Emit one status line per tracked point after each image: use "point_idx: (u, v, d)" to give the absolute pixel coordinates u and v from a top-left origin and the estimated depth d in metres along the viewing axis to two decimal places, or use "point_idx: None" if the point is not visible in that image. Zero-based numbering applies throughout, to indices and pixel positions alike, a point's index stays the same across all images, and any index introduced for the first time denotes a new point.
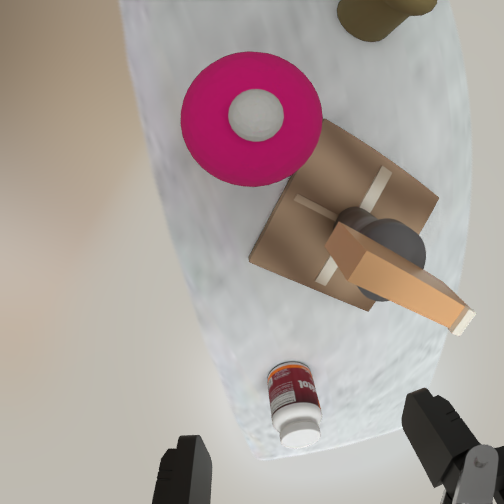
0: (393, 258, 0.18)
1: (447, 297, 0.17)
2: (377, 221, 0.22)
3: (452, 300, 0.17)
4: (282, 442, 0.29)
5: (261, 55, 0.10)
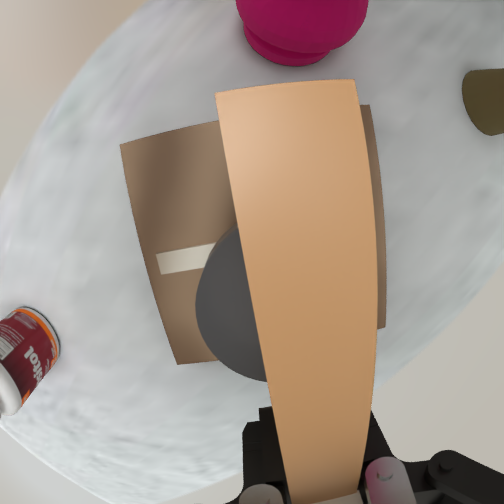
0: None
1: (360, 455, 0.06)
2: None
3: (358, 467, 0.06)
4: None
5: None
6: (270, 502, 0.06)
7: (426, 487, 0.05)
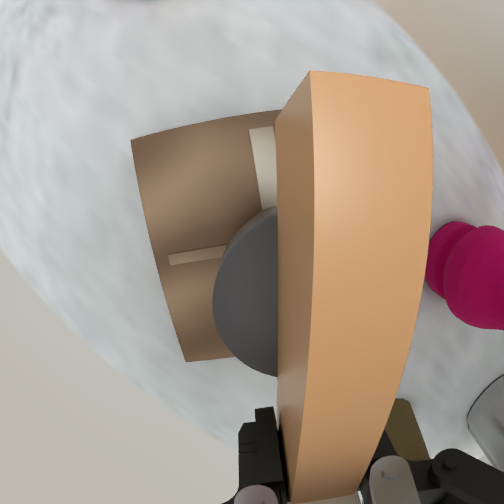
0: None
1: (371, 453, 0.06)
2: None
3: (365, 466, 0.06)
4: None
5: None
6: (265, 503, 0.06)
7: (430, 486, 0.05)
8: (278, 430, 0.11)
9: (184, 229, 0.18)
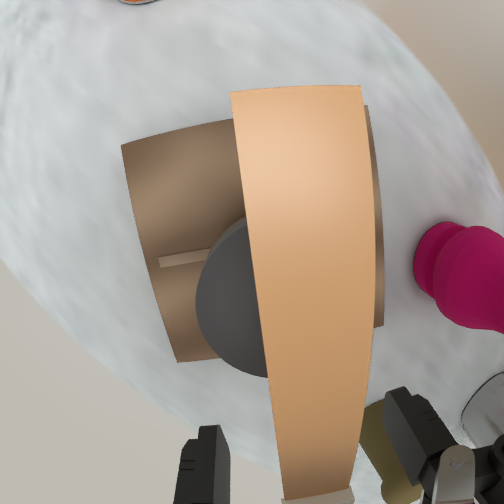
0: None
1: (354, 449, 0.06)
2: None
3: (351, 462, 0.06)
4: None
5: None
6: None
7: (491, 470, 0.05)
8: None
9: (173, 232, 0.19)
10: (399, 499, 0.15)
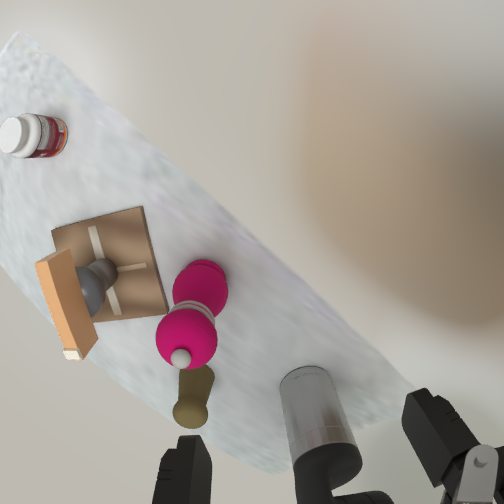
0: (65, 284, 0.28)
1: (69, 329, 0.28)
2: (91, 272, 0.33)
3: (71, 334, 0.28)
4: (17, 121, 0.25)
5: None
6: None
7: None
8: None
9: None
10: (177, 418, 0.37)
